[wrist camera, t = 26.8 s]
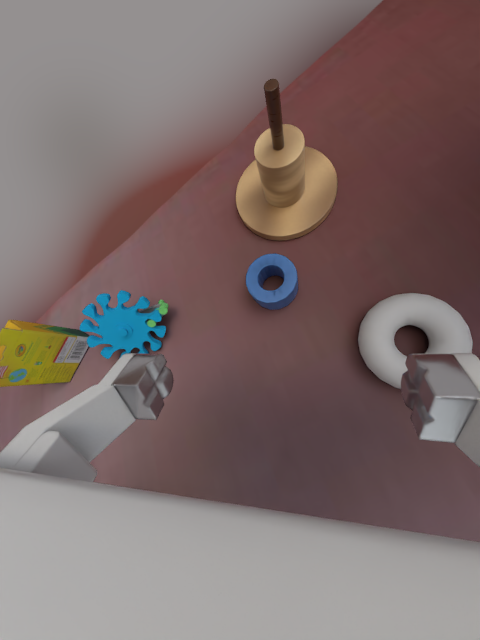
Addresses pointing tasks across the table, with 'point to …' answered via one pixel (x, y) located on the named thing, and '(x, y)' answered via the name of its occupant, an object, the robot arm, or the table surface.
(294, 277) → the ring
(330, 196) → the stand
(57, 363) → the crayon box
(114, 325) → the gear
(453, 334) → the donut
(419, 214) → the table surface
